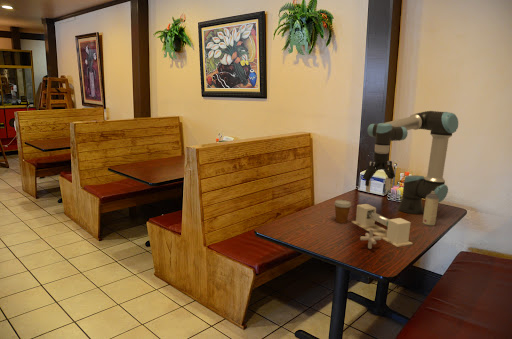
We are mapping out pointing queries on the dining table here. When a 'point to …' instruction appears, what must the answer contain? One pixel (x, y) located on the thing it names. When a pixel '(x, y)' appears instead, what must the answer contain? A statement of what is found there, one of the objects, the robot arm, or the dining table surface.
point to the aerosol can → (430, 209)
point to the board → (381, 233)
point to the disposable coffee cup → (342, 210)
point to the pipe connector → (370, 238)
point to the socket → (398, 230)
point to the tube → (378, 218)
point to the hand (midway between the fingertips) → (377, 190)
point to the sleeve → (364, 215)
